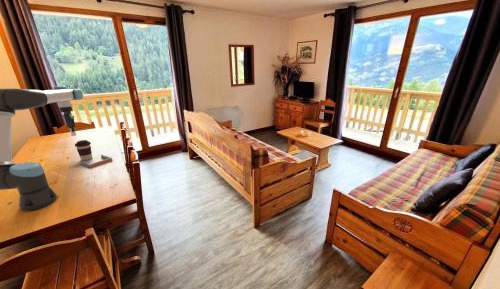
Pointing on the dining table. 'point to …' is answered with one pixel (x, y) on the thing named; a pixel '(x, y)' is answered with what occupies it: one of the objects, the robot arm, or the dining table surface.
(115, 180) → the dining table surface
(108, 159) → the keeper tray
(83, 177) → the dining table surface
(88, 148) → the coffee cup
